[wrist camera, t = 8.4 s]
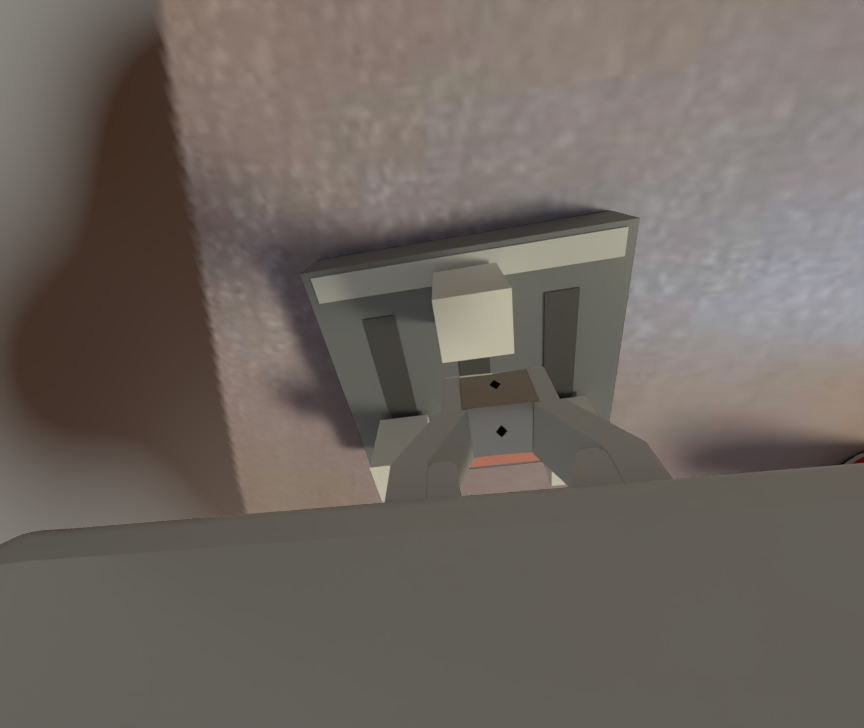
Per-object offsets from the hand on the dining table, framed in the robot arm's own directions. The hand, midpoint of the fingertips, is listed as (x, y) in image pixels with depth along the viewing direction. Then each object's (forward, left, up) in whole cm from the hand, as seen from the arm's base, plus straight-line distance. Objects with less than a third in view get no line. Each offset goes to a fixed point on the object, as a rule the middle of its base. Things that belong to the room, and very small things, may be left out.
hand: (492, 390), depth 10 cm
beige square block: (0, 0, -8) cm, 8 cm away
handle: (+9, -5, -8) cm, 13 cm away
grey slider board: (+6, 0, -12) cm, 13 cm away
